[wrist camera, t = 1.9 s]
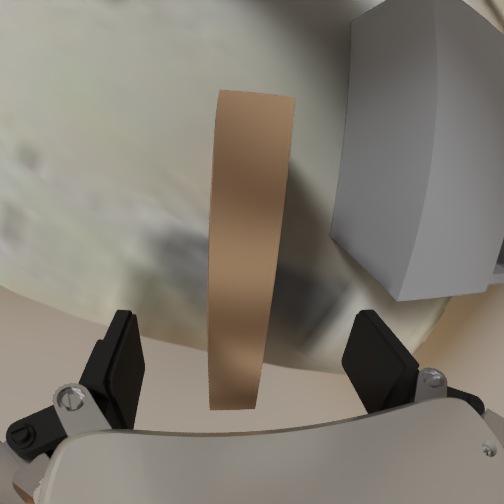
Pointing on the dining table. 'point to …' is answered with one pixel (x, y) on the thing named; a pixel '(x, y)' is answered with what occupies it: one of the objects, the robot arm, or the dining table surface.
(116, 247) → the dining table surface
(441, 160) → the cabinet
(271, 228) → the tan wooden plank
